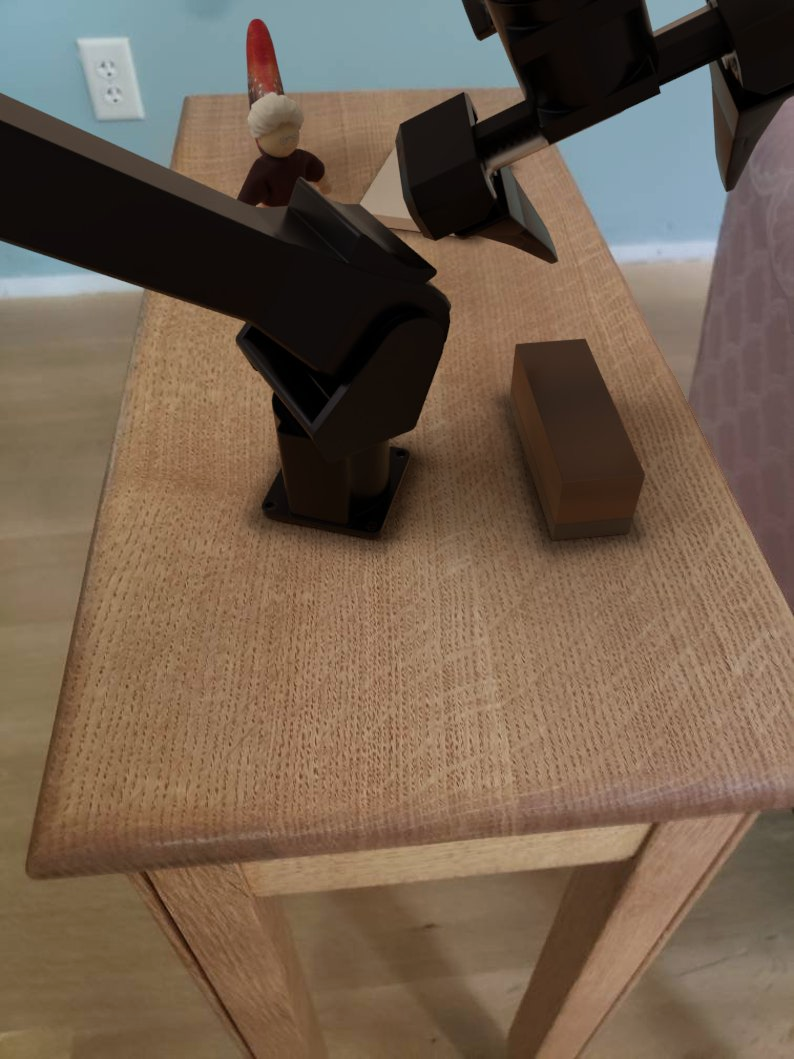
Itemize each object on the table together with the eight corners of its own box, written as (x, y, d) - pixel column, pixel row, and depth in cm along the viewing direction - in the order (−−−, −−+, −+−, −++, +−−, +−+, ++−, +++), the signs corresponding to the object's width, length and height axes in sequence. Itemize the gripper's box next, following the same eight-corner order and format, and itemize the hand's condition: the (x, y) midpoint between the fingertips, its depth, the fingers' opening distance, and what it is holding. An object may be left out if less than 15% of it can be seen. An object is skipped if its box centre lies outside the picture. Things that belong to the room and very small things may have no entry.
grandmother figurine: (278, 320, 56) (252, 124, 47) (236, 300, 58) (203, 107, 49) (352, 269, 61) (341, 79, 51) (311, 252, 62) (293, 65, 53)
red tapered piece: (286, 134, 75) (272, 7, 68) (306, 237, 64) (292, 96, 56) (253, 137, 75) (236, 9, 67) (267, 241, 63) (248, 100, 56)
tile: (471, 239, 63) (472, 226, 62) (354, 223, 65) (354, 211, 64) (501, 166, 71) (502, 154, 70) (397, 154, 72) (397, 142, 72)
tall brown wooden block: (628, 533, 44) (645, 475, 41) (552, 540, 43) (563, 482, 40) (574, 396, 51) (585, 338, 48) (508, 402, 51) (515, 343, 48)
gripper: (744, -304, 33) (778, 40, 45) (323, -48, 39) (455, 189, 52) (841, -152, 27) (848, 188, 40) (338, 112, 34) (481, 332, 47)
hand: (637, 222), depth 45 cm, fingers open, 9 cm apart
